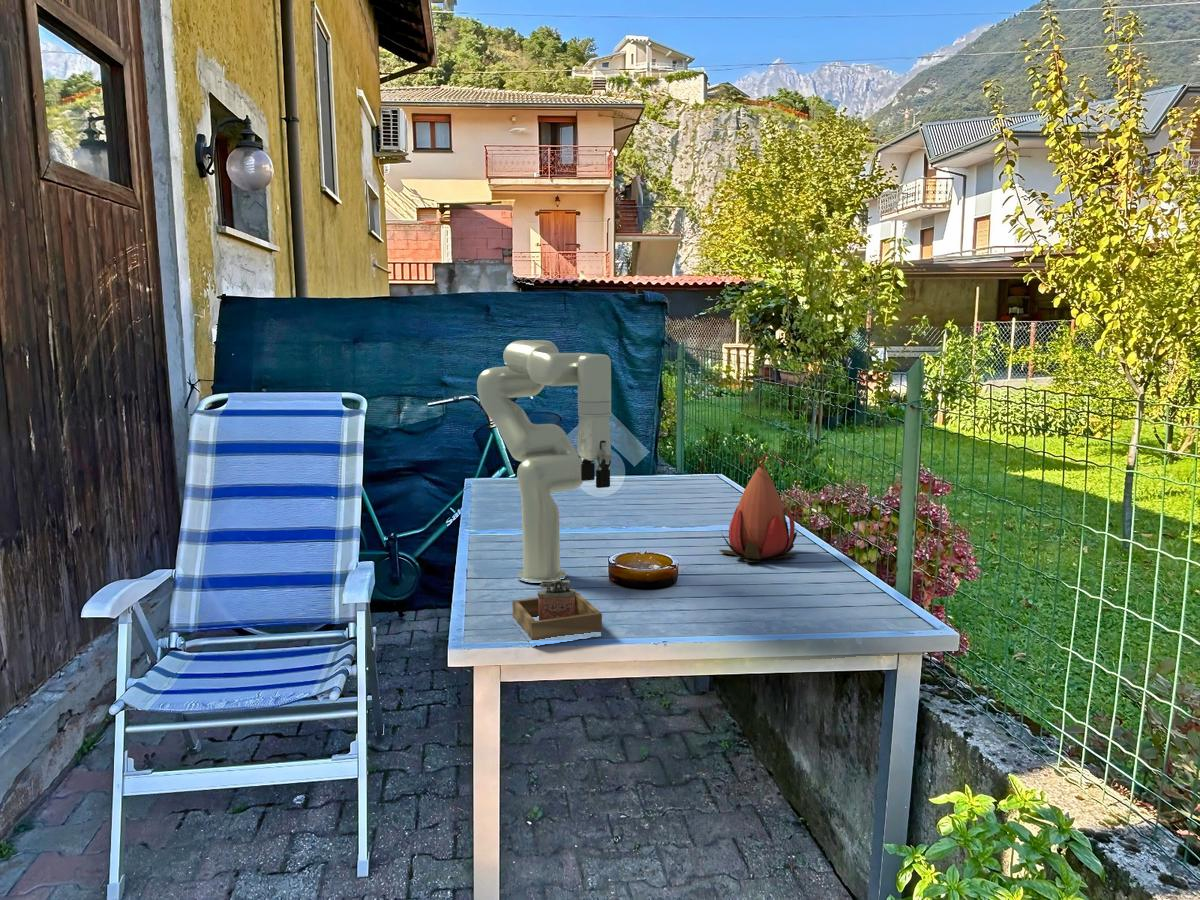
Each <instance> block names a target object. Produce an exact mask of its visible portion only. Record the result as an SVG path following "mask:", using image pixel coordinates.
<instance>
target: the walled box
mask: <svg viewBox="0 0 1200 900" xmlns="http://www.w3.org/2000/svg"><path fill="white" fill-rule="evenodd" d="M537 616H539V601H538V597H532V598H525V599H516V600H512V619H513V618H514V619H515V620H516V621H517V623H518V624H519V625H520V626H521V627H522V629H523V630H524V631H525V632H526V633H527V634H528V636H529V637H530V638H531V640H539V639H545V638H551V637H557V636H565V635H574V634H584V633H591V632H601V631H602V632H603V613H602V612H601V611H599V610H598V609H597V608H596V606H594V605H592V603H591V602H589V601H588V599H586V598H585V597H583V595H581V594H580V593H579V592H576V595H575V616H569V617H561V618H554V619H547V620H540V621H535V620H534V619H533V618H532V617H537Z"/></svg>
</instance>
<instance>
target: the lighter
mask: <svg viewBox="0 0 1200 900" xmlns="http://www.w3.org/2000/svg"><path fill="white" fill-rule="evenodd" d="M564 587H565V588H564ZM570 587H571V580H568V579H567V580H565V579H564V580H562V581H561V579H556V580H555V581H552V580H546V581H542V582H541V584H540V588H542V589H541V590H538V591H537V598H538V601H539V621H540V620H547V619H554V618H561V617H569V616H575V595H576V593H577V591H576V589H574V588H570ZM543 588H546V589H543Z"/></svg>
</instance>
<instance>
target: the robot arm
mask: <svg viewBox="0 0 1200 900" xmlns="http://www.w3.org/2000/svg"><path fill="white" fill-rule="evenodd" d="M502 353H503V356H502V357H503V362H504V364H505V366H504V365H503V366H493V367H490V368H486V369H485V370H483V371H482V372H480V374H479V375H478V378H477V381H476V390H477V395H478V399H479V402H480V404H481V406H482V409H483V410H484V412H485V413H486V414H487V415H488V417H489V418H490V419H491V421H492V422H493V424H495V426H496V428H497V430H498V432H499V434H500V436H501V438H502V440H503V442H504V444H505V446H506V449H507V450H508V452H509V453H510V455H511V457H512V458H513V459H514V461H518V462H520V464H519V465H518V468H517V470H516V471H517V472H516V477H517V484H518V487H519V488H518V489H519V493H520V501H521V520H522V521H521V524H522V525H521V529H522V569H521V570H520V571H519V572H523V573H518V572H517V574H518V576H519V577H521V578H522V579H525V580H529V581H546V580H556V579H560V578H563V577H564V576H566V577H567V571H566V570H564V569H562V568H561V543H560V541H561V539H560V538H561V536H560V534H561V533H560V531H561V529H560V509H559V506H558V505H557V502H556V501H555V500H554V498H553V497H552V495H551V494H553V493H554V494H555V493H556V492H558V493H560V492H566V491H572V490H575V489H578V488H579V487H581V486H582V484H583V482H588V481H589V482H590V481H594V480H595V488H597V489H603V488H609V487H611V469H612V468H611V464H612V461H611V459H612V451H611V450H612V447H611V446H612V445H611V425H610V416H611V417H612V360H611V358H610V356H609V355H607V354H603V353H602V354H601V353H590V352H559V349H558V347H557V346H556V344H554V342H552V341H551V340H546V339H527V340H526V339H520V340H515V341H512V342H511V343H508V345H507V346H506V347H505V349H504V350H503V352H502ZM545 386H547V387H566V386H567V387H569V386H577V414H578V415H577V416H578V424H577V425H578V426H577V449H576V450H577V451H576V450H575V448H574V446H573V444H572V442H571V441H570V438H569V437H568V435H567V434H566V432H565V430H564V429H563V428H562V427H561V426H559V425H557V424H554V423H541V424H540V423H539V424H536V423H533V422H531V421H530V418H529V416H528V415H527V413H526V412H525V411H524V409H523V408H522V407H521V406H520V405H518V404H517V403H516V402H514V401H512V400H511V399H512V398H513V399H514V398H530V397H535V396H537V395H538V394H540V393H541V392H542V390H543V389H544V388H545ZM594 461H595V462H594ZM595 464H596V468H597V469H596V468H595ZM595 469H596V470H595ZM526 578H528V579H526Z"/></svg>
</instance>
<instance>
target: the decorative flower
mask: <svg viewBox="0 0 1200 900" xmlns="http://www.w3.org/2000/svg"><path fill="white" fill-rule="evenodd" d="M748 452H750V453H751V452H752V453H755V454H756V456H755V457H754V461H753V467H754V468H755V467H756V459H757V458H758V462H759V466H758V467H757V469H756V470H755V471H754V473H753V474H752V476H751V478H750V480H749V481H748V483H747V485H746V486H745V489H744V490H743V493H742V495H741V497H740V499H739V502H738V505H737V506H736V508H735V511H734V512H733V516H732V518H731V520H730V524H729V529H728V540H727V539H726V537H725V536H724V535H723V534H722V532H721V536H722V538H723V540H724V541H725V542H726V544H727V546H728V547H729V550H728V549H718V551H719V552H721V553H723V554H726V555H727V554H728V555H734V556H736V557H739V558H743V561H745V562H749V563H757V562H758V563H759V562H762V559H769V560H770V559H771V560H776V559H787V558H792V557H793V558H794V557H796V556H798V554H797V553H793V552H792V553H789V552H790V551H791V550H793V548H794V546H795V544H794V542H795V540H797V539H796V538H797V533H798V532H797V531H796V532H795V529H796V527H795V519H794V515H793V514H792V511H791V510H790V509H789V508H788V506H787V505H785V510H786V513H785V511H784V506H783V503H782V499H781V498H780V496H779V492H778V490H777V488H776V486H775V484H774V481H773V480H772V477H771V476H770V474H769V472H768V471H767V468H765V467H764V465H765V461H766V459H767V457H768V456H770V454H774V455H775V462H779V458H778V455H779V457H780V458H781V459H780V460H781V466H782V467H783V466H784V461H783V456H782V455H781V454H780V453H779V452H777V451H774V450H773V449H770V450H768V451H766V452H765V453H764V454H763V455H762V456H761V458H760V457H759V454H757V452H755V451H754V450H747V451H746V452H744V454H743V455H742V457H741V458H740V463H741V464H743V462H744V460H743V459H744V456H745V455H746V454H747V453H748ZM768 452H769V453H768ZM767 453H768V454H767ZM777 454H778V455H777ZM786 514H787V516H788V517H787V518H788V520H789V524H788V522H787V519H786ZM788 525H789V526H788Z"/></svg>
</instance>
